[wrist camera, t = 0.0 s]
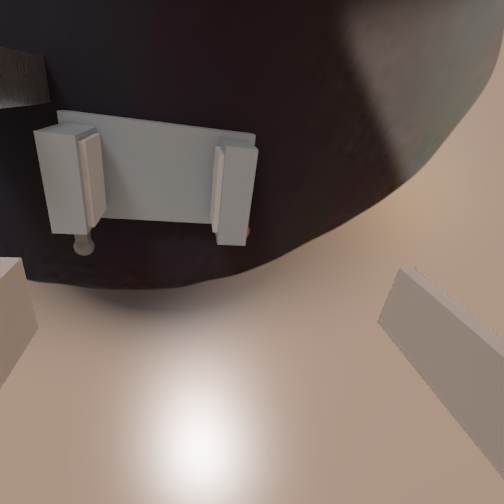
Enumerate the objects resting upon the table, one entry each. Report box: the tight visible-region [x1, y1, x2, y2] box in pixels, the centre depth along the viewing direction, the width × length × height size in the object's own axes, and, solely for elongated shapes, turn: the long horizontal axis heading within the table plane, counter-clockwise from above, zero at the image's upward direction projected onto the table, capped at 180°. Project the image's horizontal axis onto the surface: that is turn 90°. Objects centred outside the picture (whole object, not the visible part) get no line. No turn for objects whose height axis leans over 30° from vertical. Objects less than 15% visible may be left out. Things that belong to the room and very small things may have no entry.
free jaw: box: [33, 123, 107, 256], centre depth 30 cm, size 13×4×6 cm, turn 172°
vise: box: [57, 110, 258, 246], centre depth 32 cm, size 12×21×8 cm, turn 82°
